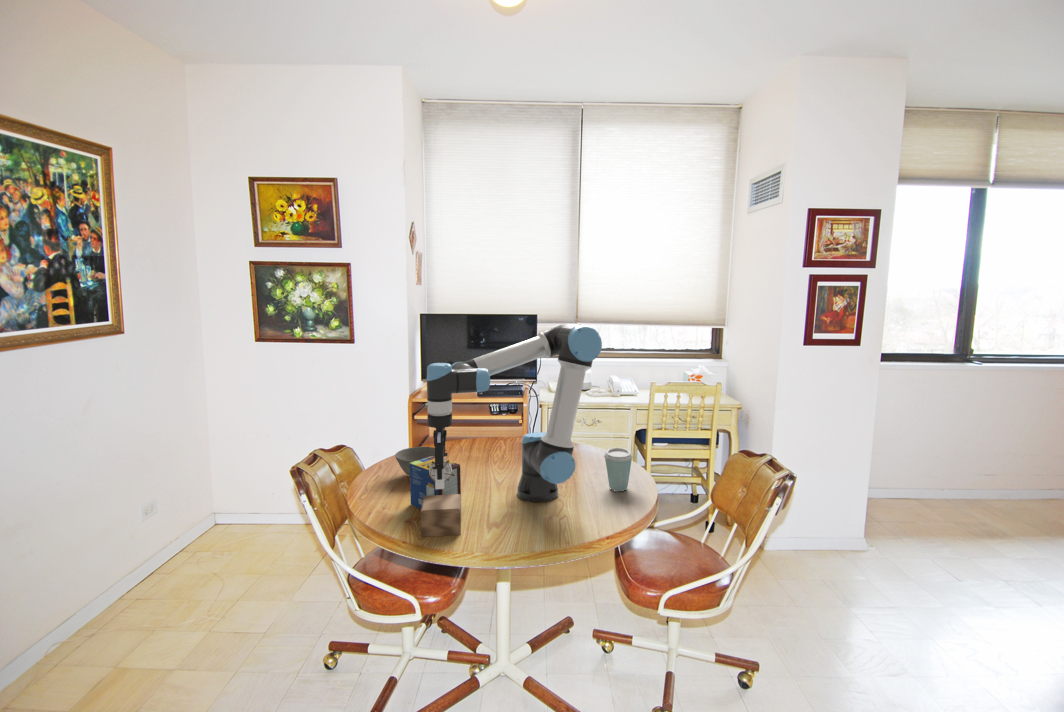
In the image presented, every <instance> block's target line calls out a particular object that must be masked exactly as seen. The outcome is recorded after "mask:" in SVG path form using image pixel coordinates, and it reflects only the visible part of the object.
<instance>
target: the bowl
mask: <svg viewBox="0 0 1064 712" xmlns="http://www.w3.org/2000/svg"><path fill="white" fill-rule="evenodd" d="M430 456H435V446H434V447H433V446H414V447H413V446H412V447H407V448H403V449H401V450H398V451H397V452H396V453H395V454H394V457H395V460H396V461H397V463H398V464H399V465H398V466H399V467H400V468H401V470H402V471H403V472H404V474H406V475H407V476H408V477H409V478H410V463H411V462H414V461H417V460H420V459H424V458H427V457H430Z"/></svg>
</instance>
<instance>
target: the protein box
mask: <svg viewBox="0 0 1064 712" xmlns="http://www.w3.org/2000/svg"><path fill="white" fill-rule="evenodd" d="M432 461H433V462H435V456H430V457H427V458H424V459H420V460H417V461H414V462H411V463H410V477H409V486H410V487H409V489H410V490H409V491H410V495H409V496H410V505H411V506H413V507H415V508H418V509H420V510H421V508H422V503H423V498H424V496H430V495H451V494H461V495H462V487H461V481H462V480H461V464H460V463H456V462H453V461H450V460H449V464H450V465H452V464H453V466H452V474H454V475H455V476H453V475H452V476H451V477H450V478H448V479H449V481H448V480H446V481H445V482H444V489H435V481H434V482H432V480H433V479H431V478H430V477H429V478H427V477H428V476H429V468H427V466H429V467H430V466H431V465H432V464H433V463H432ZM446 461H448V460H447V459H446Z"/></svg>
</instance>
